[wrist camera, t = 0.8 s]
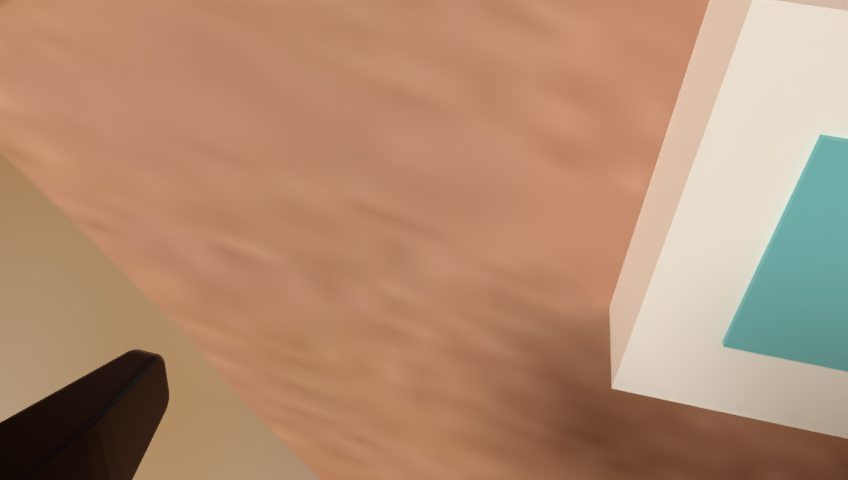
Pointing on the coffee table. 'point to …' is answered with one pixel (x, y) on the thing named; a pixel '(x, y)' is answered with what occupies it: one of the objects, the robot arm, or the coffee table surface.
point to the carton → (747, 226)
